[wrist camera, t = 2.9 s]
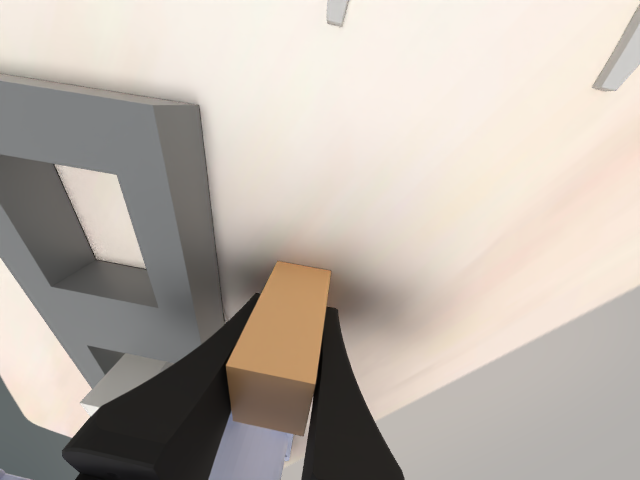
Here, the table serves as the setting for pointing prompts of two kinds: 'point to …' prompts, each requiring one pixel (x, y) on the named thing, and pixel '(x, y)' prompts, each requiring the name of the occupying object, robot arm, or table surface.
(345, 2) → the pliers
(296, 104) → the table surface
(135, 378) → the white plug
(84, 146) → the grey two-slot frame
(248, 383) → the orange plug
